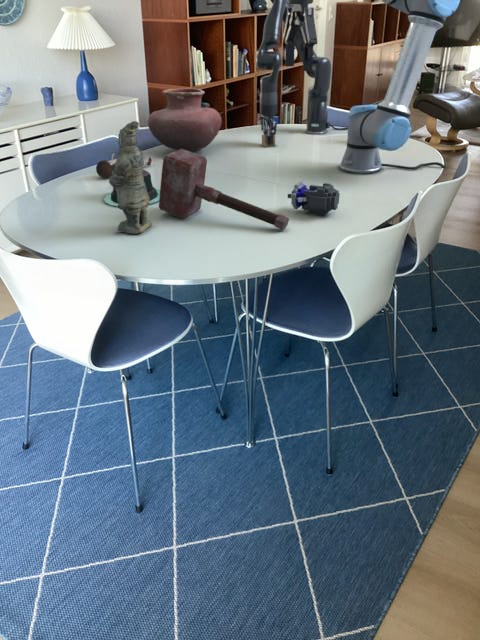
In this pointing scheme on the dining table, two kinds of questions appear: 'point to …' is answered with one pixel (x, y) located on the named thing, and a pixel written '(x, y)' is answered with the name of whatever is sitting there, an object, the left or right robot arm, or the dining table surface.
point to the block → (265, 140)
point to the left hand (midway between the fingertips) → (268, 143)
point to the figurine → (110, 167)
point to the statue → (131, 182)
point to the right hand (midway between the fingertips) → (298, 68)
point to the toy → (315, 198)
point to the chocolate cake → (152, 192)
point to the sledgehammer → (200, 190)
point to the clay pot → (185, 121)
